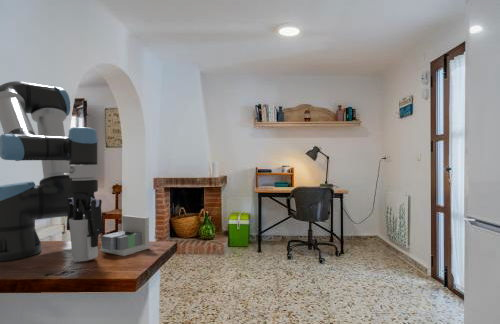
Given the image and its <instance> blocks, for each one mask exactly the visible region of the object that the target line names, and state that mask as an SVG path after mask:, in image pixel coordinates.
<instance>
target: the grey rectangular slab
mask: <svg viewBox="0 0 500 324" xmlns="http://www.w3.org/2000/svg"><path fill="white" fill-rule="evenodd" d="M116 232H117V233H115V232H112V233H113V234H111V233H107V234H108V235H106V234H103V235H104V236H103V235H101V246H102V248H103V249H108V250H114V249H117V237H121V236H125V235H133V234H134V232H132V231H122V230H121V232H120V231H116Z"/></svg>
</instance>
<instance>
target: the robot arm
mask: <svg viewBox="0 0 500 324" xmlns="http://www.w3.org/2000/svg"><path fill="white" fill-rule="evenodd" d="M70 99H71V98H70V95H69V93H68V92H67V90H65V88H62V87H59V86H55V85H44V84H38V83H32V82H25V81H21V80H19V81H17V80H16V81H9V82H5V83H3V84H1V85H0V125H1V128H2V131H3V133H2V134H1V135H0V158H1V159H2V160H3V161H4V160H5V161H15V162H20V161H41V165H42V166H41V167H42V175H43V177H42V178H41V179H40V180H39V183H38V185H36V183H35V182H34V181H23V182H15V183H9V184H2V185H0V262H5V261H6V262H7V261H13V260H21V259H24V258H29V257H31V256H34V255H37V254H39V253H41V252H42V242H41V240H40V237H39V235H38V233H37V231H36V220H37V221H38V220H46V219H47V220H48V219H53V218H63V217H65V218H66V231H70V226H69V219H70V218H74V220H82V219H83V216H85V219H86V220H87V219H88V232H89V235H87V253H88V259H91V260H93V259H92V258H94V259H96V258H98V257H99V247H98V246H99V235H100V234H103V233H104V226H103V223H104V222H103V215H102V203H103V201H102V199H101V198H99V199H96V197H95V193H96V192H98V191H99V184H98V183H99V182H98V180H97V178H99V172H98V171H99V169H98V166H99V165H98V143H99V142H98V141H99V139H98V133H97V130H96V129H95V128H92V127H86V126H83V127H82V126H76V127H70V128H69V129H68V136H66V132H65V127H64V121H66V119H67V117H68V116H69V115H70V113H71V100H70ZM28 114H30V116H31V119H32V121H33V122H35V123H36V125H37V126H36V127H37V134H38V135H36V133H35V130H34V128H33V126H32V123H31V120H30V119H29V116H28ZM95 257H96V258H95Z"/></svg>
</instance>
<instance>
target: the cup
mask: <svg viewBox="0 0 500 324" xmlns="http://www.w3.org/2000/svg"><path fill="white" fill-rule="evenodd" d="M69 226H70V230H69V235H70V242H71V256H72V261H73V262H87V261H91V260H93V259H96V258H97V257H95V258H92V259H88V253H87V235H89V232H88V219H87V220H86V219H85V215H83V219H82V220H74V218H70V219H69Z"/></svg>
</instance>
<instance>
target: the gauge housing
mask: <svg viewBox="0 0 500 324" xmlns="http://www.w3.org/2000/svg"><path fill="white" fill-rule="evenodd" d="M121 220H122V221H121V222H122V223H121V225H122V226H121V227H122V229H121V231H132V232H134V234H133V235H125V236H121V237H117V249H114V250H108V249H103V248H102V245H101V246H100V252H102V253H107V254H113V255H118V256H122V257H125V256H128V255H132V254H135V253H138V252H141V251H145V250H147V249H150V223H149V222H150V221H149V220H150V218H149V217H147V216H146V217H145V216H136V215H127V214H124V215H122V216H121ZM121 231H119V232H121ZM117 232H118V231H116V232H112V233H110V234H113V233H117ZM108 234H109V233H107V234H103V235H102V236H104V235H108Z"/></svg>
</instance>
